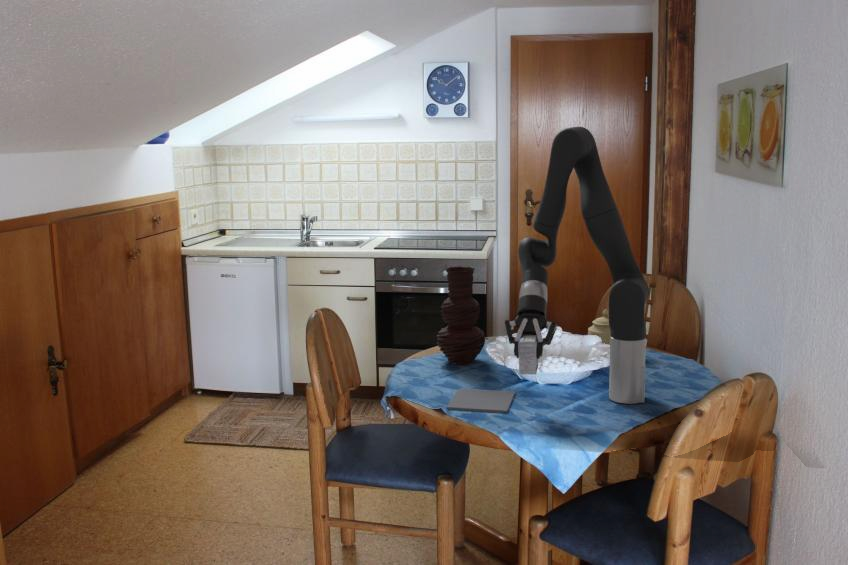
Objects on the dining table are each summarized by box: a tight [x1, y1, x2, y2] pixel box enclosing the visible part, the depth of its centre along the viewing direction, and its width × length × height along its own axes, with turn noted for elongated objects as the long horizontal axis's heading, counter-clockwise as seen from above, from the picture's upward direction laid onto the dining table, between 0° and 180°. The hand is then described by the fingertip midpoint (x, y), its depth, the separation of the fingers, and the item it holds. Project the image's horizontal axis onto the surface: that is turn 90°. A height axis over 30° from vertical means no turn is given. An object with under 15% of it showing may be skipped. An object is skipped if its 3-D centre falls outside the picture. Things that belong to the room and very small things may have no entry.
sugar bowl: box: [587, 308, 610, 345], centre depth 263 cm, size 15×11×15 cm
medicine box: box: [518, 334, 539, 375], centre depth 211 cm, size 8×4×9 cm, turn 168°
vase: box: [436, 265, 486, 366], centre depth 256 cm, size 15×15×30 cm
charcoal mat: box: [446, 388, 516, 414], centre depth 220 cm, size 16×16×1 cm
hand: (527, 356), depth 209 cm, fingers closed on medicine box, 4 cm apart
